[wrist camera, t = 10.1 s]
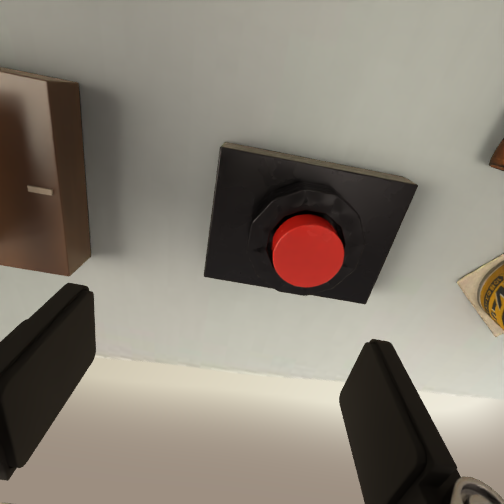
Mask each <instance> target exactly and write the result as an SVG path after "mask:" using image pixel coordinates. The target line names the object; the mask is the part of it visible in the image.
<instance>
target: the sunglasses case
mask: <svg viewBox="0 0 504 504" xmlns="http://www.w3.org/2000/svg"><path fill="white" fill-rule="evenodd" d="M489 165H490V166H491V167H494V168H496V169H499V170H502V171H504V139H503V140H502V142H501V143H500V144H499V146H498V147H497V149H496V150H495V152H494V154H493V156H492V158H491V160H490V163H489Z"/></svg>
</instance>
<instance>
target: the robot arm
mask: <svg viewBox="0 0 504 504" xmlns="http://www.w3.org/2000/svg"><path fill="white" fill-rule="evenodd" d="M95 353H96V342H95V317H94V294H93V292H91V291H89V288H88V287H87V286H84V285H78V284H73V283H67V284H66V285H64V286H63V287H62V288H61V289H60V290H59V291H58V292H57V293H56V294H55V295H54V296H53V297H52V298H50V299H49V300H48V301H47V302H46V303H45V304H44V305H43V306H42V307H41V308H40V309H39V310H38V311H36V312H35V313H34V314H33V315H32V316H31V317H30V318H29V319H27V320H25V321H23V322H22V323H21V324H19V325H18V326H17V327H16V328H15V329H14V330H13V331H12V332H11V333H10V334H9V335H7V336H6V337H5V338H4V339H3V340H2V341H1V342H0V479H1V480H9V479H10V477H11V476H12V474H13V472H14V471H15V470H16V468H21V467H23V466H24V465H25V464H26V462H27V461H28V460H29V458H30V457H31V455H32V454H33V452H34V451H35V449H36V447H37V446H38V444H39V443H40V441H41V440H42V438H43V437H44V435H45V433H46V432H47V431H48V429H49V428H50V426H51V425H52V423H53V421H54V420H55V418H56V417H57V415H58V414H59V412H60V411H61V409H62V408H63V406H64V405H65V403H66V402H67V400H68V398H69V397H70V395H71V394H72V392H73V391H74V389H75V388H76V386H77V385H78V383H79V382H80V380H81V378H82V377H83V375H84V374H85V372H86V371H87V369H88V368H89V366H90V365H91V363H92V362H93V360H94V357H95ZM339 403H340V407H341V411H342V415H343V419H344V423H345V427H346V431H347V435H348V439H349V442H350V446H351V451H352V455H353V459H354V462H355V466H356V470H357V474H358V478H359V482H360V486H361V490H362V494H363V497H364V502H365V504H504V500H503V499H502V497H501V496H500V495H499V494H498V493H496V492H495V491H494V490H493V489H492V488H491V487H489V486H488V485H486V484H485V483H483V482H481V481H480V480H477V479H474V478H472V477H460V475H459V473H458V471H457V466H456V464H455V462H454V460H453V458H452V457H451V455H450V453H449V451H448V449H447V447H446V445H445V443H444V441H443V440H442V438H441V436H440V434H439V432H438V430H437V428H436V426H435V425H434V423H433V421H432V419H431V417H430V415H429V413H428V411H427V409H426V408H425V406H424V404H423V402H422V400H421V398H420V396H419V394H418V392H417V390H416V389H415V387H414V385H413V383H412V381H411V379H410V377H409V375H408V374H407V372H406V370H405V368H404V366H403V364H402V362H401V360H400V358H399V357H398V355H397V353H396V351H395V349H394V347H393V345H392V344H391V343H390V342H387V341H381V340H376V339H372V340H371V341H370V342H367V343H365V345H364V346H363V348H362V350H361V352H360V355H359V357H358V359H357V361H356V363H355V365H354V367H353V369H352V371H351V373H350V375H349V377H348V379H347V381H346V383H345V385H344V387H343V389H342V391H341V393H340V397H339ZM0 504H10V503H1V502H0Z"/></svg>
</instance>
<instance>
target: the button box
mask: <svg viewBox="0 0 504 504" xmlns="http://www.w3.org/2000/svg"><path fill="white" fill-rule="evenodd" d="M417 187H418V185H417V184H415V183H413V182H412V181H410V180H408V179H406V178H404V177H402V176H397V175H392V174H387V173H382V172H377V171H372V170H367V169H361V168H356V167H351V166H346V165H341V164H336V163H331V162H326V161H321V160H315V159H310V158H305V157H300V156H295V155H290V154H285V153H280V152H275V151H269V150H264V149H259V148H254V147H249V146H244V145H239V144H234V143H229V142H224V143H223V145H222V146H221V147H220V152H219V160H218V168H217V176H216V184H215V192H214V199H213V207H212V215H211V223H210V231H209V239H208V247H207V254H206V262H205V270H204V277H209V278H214V279H220V280H226V281H232V282H238V283H244V284H250V285H256V286H261V287H267V288H273V289H276V290H277V291H280V292H286V293H292V294H298V295H303V296H305V295H306V296H307V295H314V296H320V297H326V298H332V299H338V300H344V301H350V302H356V303H361V304H366V303H367V300H368V298H369V296H370V294H371V291H372V289H373V287H374V284H375V282H376V280H377V278H378V275H379V273H380V271H381V269H382V266H383V264H384V262H385V260H386V257H387V255H388V253H389V250H390V248H391V246H392V244H393V241H394V239H395V237H396V235H397V232H398V230H399V228H400V225H401V223H402V221H403V219H404V216H405V214H406V212H407V210H408V207H409V205H410V203H411V201H412V198H413V196H414V194H415V191H416V189H417ZM302 214H312V215H317V216H320V217H322V218H324V219H326V220H327V221H328V222H330V224H331V225H332V226H333V227H334V229H335V231H336V232H337V234H338V236H339V238H340V240H341V242H342V244H343V247H344V260H343V264H342V266H341V268H340V270H339V271H338V273H337V274H336V275H335V276H334V277H333V278H332V279H330V280H329V281H327V282H326V283H323V284H321V285H318V286H314V287H298V286H294V285H292V284H290V283H288V282H286V281H285V280H283V279H282V278H281V277H280V276H279V275H278V273H277V272H276V270H275V268H274V264H273V257H272V240H273V236H274V234H275V232H276V230H277V229H278V228H279V226H280V225H281V224H282V223H283V222H285V221H286V220H288V219H290V218H291V217H294V216H297V215H302Z"/></svg>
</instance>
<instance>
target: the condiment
mask: <svg viewBox="0 0 504 504" xmlns="http://www.w3.org/2000/svg"><path fill="white" fill-rule="evenodd" d="M457 284H458V285H459V286H460V288H461V289H462V291H463V292H464V294H465V295H466V296H467V298H468V299H469V301H470V302H471V304H472V305H473V306H474V308H475V309H476V311H477V312H478V313H479V315H480V316H481V318H482V319H483V320H484V322H485V323H486V325H487V326H488V327H489V329H490V330H491V331H492V333H493V334H494V336H495V337H497V336H499V335H501V334H503V333H504V254H503V255H501V256H499V257H498V258H496V259H494V260H492V261H491V262H489V263H487V264H485V265H484V266H482V267H480V268H478V269H477V270H475V271H474V272H472V273H469V274H468V275H466V276H465V277H463V278H461V279H460V280H459V281H458V282H457Z"/></svg>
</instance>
